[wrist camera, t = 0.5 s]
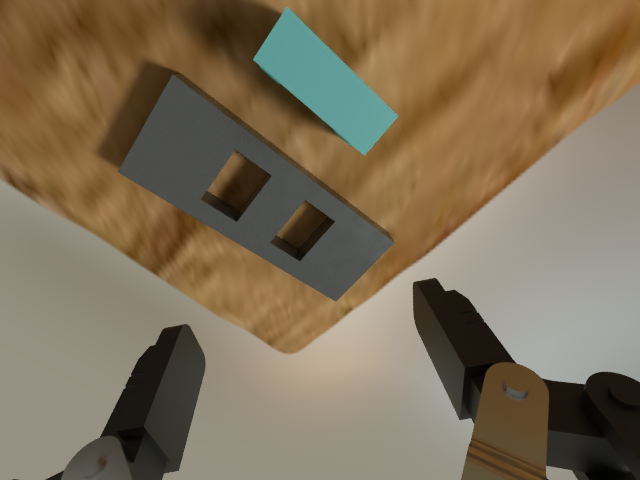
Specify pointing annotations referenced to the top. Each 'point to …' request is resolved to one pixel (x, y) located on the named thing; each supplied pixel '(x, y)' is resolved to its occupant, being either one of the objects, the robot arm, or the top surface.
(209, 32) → the top surface
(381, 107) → the teal rectangular block
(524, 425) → the robot arm
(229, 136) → the grey board with holes
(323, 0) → the top surface
